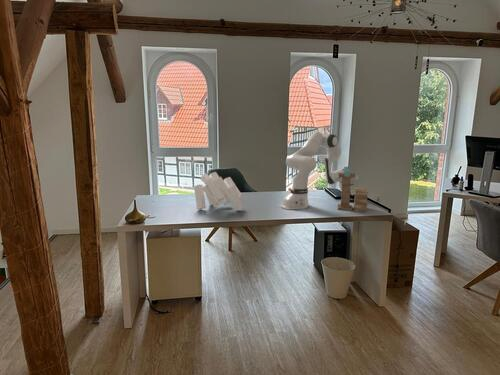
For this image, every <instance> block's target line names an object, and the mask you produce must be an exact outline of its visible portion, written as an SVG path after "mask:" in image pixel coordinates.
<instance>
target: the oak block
mask: <svg viewBox="0 0 500 375" xmlns="http://www.w3.org/2000/svg"><path fill="white" fill-rule="evenodd" d="M368 192H369V191H368V189H367V188H366V187H355V188H354V200H353V201H354V203H353V208H354V209H353V210H354V212H361V213H362V212H363V213H366V212H367V207H368V205H367V204H368V195H369V193H368Z"/></svg>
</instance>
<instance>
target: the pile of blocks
mask: <svg viewBox="0 0 500 375" xmlns="http://www.w3.org/2000/svg"><path fill="white" fill-rule="evenodd" d="M199 180H201V182H202V183H203V184H197V185H193V189H194V190H193V191H194V195H195V196H194V197H195V203H196V210H204V209H207V205H206V199H207V201H208V204H209V206H213V208H214V209H215V208H218V207H220V206H221V204H223V205H224V206H226V205H229V204H231V201H232V202H233V205H234V207H235V209H236V211H237V212H238V211H240V210H242V209H244V206H243V203H242V200H241V198H242V196H243V194H242V193H241V191H240V190H239V188H238V187H237V185H236V183H235V182H234V181H233V179H232V178H231V176H228V177H225V178H222V176H220V175H219V174H218V173H217V171H214V172H211V173H209V174H207V173H206V172H204V173H203V174H202V175H201V176H200V178H199ZM205 197H206V199H205Z"/></svg>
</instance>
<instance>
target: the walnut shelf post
mask: <svg viewBox="0 0 500 375" xmlns="http://www.w3.org/2000/svg"><path fill="white" fill-rule="evenodd" d="M355 176H356V173H351V172H350V177H345V176H344V173H338V177H342V189H341V191H340V192H341V194H340V203H339V204H337V210H338V211H339V210H341V211H352V210H353V206H352V204H350V199H351V198H350V197H351V186H352V185H351V178H355Z"/></svg>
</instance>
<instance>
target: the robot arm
mask: <svg viewBox="0 0 500 375" xmlns="http://www.w3.org/2000/svg"><path fill="white" fill-rule="evenodd" d="M320 148H325V149H326V156H325V158H324V170H325V181H326V183H327V184H329V185H334V184H336V183H338V186H339V189H340V190H342V177H338V173H344V168H339V169H337V170H334V171H332V170H331V168H332V167H331V165H332V164H333V163H334V162H335V161H337V159H339V158H340V156H341V154H342V151H341V150H342V149H341V146H340V142H339V139H338V137H337V135H336V134H333V133H322V132H319V131H314V132H313V133H312V134H311V135H310V136H309V137H308V138H307V140H306V141H305V143H303V145H302V147H300V149H298V150H297V151H296V152H294V153H292V154H290V155H288V156H286V159H285V165H286V166H287V168H290V169H293V170H298V173H297V174H296V175H294V176H293V178H292V188H291V187H288V191H289V192H290V193H288V194H287V195H286V196H284V197H283V199H282V203H279V207H280V208H281V209H284V210H290V211H291V210H302V209H303V210H305V209H307V208H308V207H309V206H310V204H309V202H308V201H309V200H308V193H309V187H308V182H309V177H310V174H311V173H312V172H313V171H315V169H316V168H317V160H316V158H314V156H315V155H316V153H317V152H318V150H319V149H320ZM358 181H359V175H355V178H351V186H356V184H357V183H358Z"/></svg>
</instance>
